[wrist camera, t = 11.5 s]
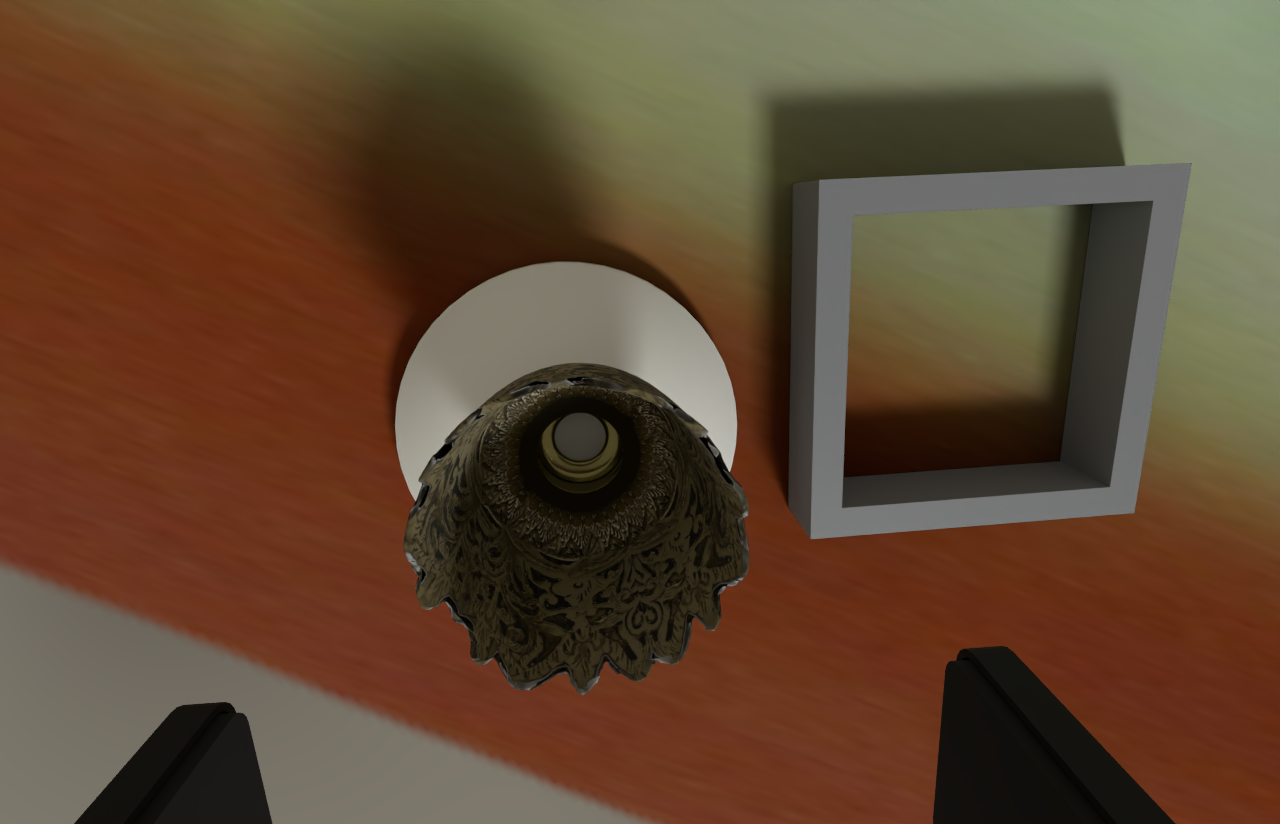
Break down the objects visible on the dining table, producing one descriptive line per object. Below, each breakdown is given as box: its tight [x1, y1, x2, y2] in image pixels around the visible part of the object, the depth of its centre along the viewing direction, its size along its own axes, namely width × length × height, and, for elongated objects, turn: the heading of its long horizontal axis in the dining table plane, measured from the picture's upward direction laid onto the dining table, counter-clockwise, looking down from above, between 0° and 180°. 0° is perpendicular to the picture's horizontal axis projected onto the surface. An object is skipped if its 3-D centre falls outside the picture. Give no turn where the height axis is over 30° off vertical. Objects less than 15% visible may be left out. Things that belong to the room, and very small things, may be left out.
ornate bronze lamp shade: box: [404, 363, 749, 695], centre depth 19 cm, size 8×7×8 cm
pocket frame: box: [788, 163, 1192, 539], centre depth 23 cm, size 11×11×2 cm
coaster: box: [395, 261, 737, 501], centre depth 23 cm, size 11×11×1 cm
